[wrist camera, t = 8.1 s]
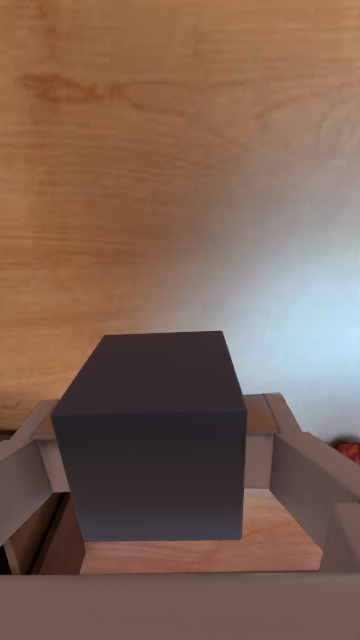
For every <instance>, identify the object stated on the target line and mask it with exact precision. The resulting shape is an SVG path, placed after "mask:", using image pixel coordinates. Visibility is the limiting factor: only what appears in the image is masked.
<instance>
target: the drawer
mask: <svg viewBox="0 0 360 640" xmlns="http://www.w3.org/2000/svg"><path fill="white" fill-rule="evenodd" d="M11 438H12V436H9V435H0V442H2V441H3V440H10V439H11ZM61 502H62V498H61V492H56V493H52V495H51V496H50V497H49V498H48V499H47V500H46V501H45V502H44V503H43V504H42V505H41V506H40V507H39V508H38V509H37V510H36V511H35V512H34V513H33V514H32V515H31V516H30V517H29V518H28V519H27V520H26V521H25V522H24V523H23V524H22V525H21V526H20V527H19V528H18V529H17V530H16V531H15V532H14V533H13V534H12V535H11V536H10V537H9V539H8V540H7V541H6V542H5V543H4V544H3V545H2V546H1V547H0V575H30V574H31V572H32V570H33V567H34V565H35V563H36V560H37V558H38V556H39V553H40V551H41V549H42V546H43V544H44V542H45V539H46V537H47V535H48V532H49V530H50V528H51V525H52V523H53V521H54V519H55V516H56V514H57V512H58V509H59V507H60V505H61Z"/></svg>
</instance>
